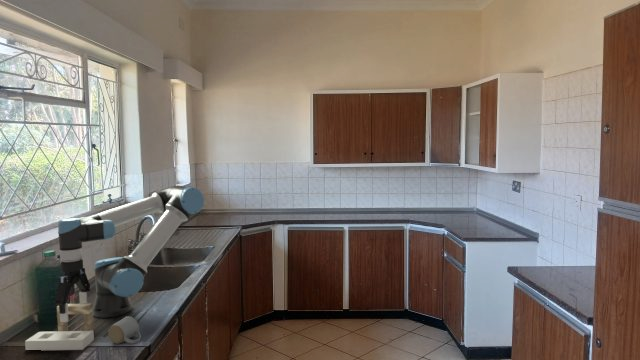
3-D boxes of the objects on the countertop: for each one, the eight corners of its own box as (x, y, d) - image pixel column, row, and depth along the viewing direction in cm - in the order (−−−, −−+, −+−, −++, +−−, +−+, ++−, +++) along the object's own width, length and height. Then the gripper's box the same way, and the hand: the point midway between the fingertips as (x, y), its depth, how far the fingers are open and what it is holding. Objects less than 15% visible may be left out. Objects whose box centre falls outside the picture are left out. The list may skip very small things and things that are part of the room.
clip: (94, 331, 175) (92, 303, 174) (90, 334, 172) (88, 306, 171) (63, 331, 175) (61, 304, 174) (58, 335, 172) (56, 306, 171)
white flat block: (94, 339, 167) (93, 330, 166) (82, 349, 159) (81, 340, 158) (39, 340, 167) (39, 331, 166) (25, 350, 159) (25, 341, 158)
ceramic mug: (106, 343, 163) (105, 322, 163) (123, 334, 171) (122, 314, 170) (131, 347, 160) (130, 326, 159) (146, 338, 168) (145, 317, 167)
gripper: (79, 252, 183) (82, 303, 185) (41, 268, 158) (44, 327, 160) (97, 251, 183) (100, 303, 185) (62, 268, 158) (65, 327, 160)
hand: (74, 314), depth 172 cm, fingers open, 13 cm apart
